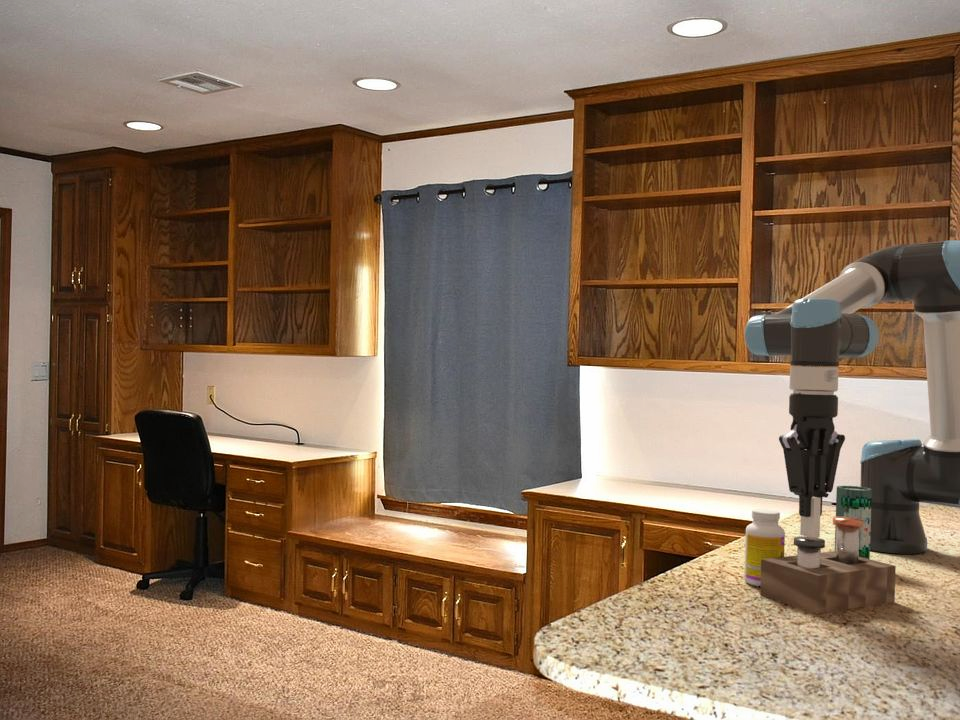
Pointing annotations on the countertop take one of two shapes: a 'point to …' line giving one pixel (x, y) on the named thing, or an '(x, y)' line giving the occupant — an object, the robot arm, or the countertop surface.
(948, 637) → the countertop surface
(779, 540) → the supplement bottle
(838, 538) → the rust plunger
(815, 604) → the wooden holder block
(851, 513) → the can
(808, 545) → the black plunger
